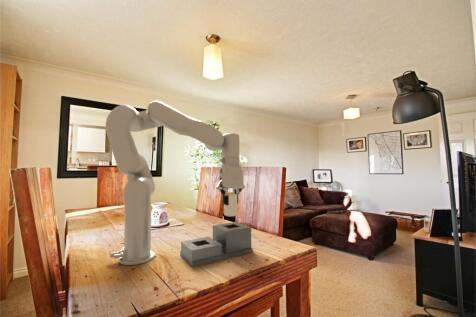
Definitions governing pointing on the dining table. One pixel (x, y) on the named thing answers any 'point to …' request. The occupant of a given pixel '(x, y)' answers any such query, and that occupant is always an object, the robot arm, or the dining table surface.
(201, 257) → the socket block
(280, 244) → the dining table surface
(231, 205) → the plug
